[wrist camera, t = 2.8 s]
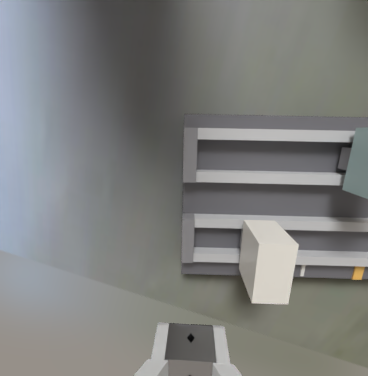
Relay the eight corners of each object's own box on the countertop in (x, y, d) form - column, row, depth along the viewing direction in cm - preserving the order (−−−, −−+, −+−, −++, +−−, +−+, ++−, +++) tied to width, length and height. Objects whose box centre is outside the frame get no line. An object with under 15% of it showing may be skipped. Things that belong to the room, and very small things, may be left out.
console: (182, 260, 21) (181, 282, 18) (184, 115, 18) (184, 112, 14) (380, 266, 21) (413, 289, 18) (425, 120, 17) (477, 117, 14)
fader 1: (235, 260, 18) (251, 303, 14) (240, 213, 17) (259, 243, 13) (262, 260, 18) (288, 304, 14) (269, 214, 17) (298, 244, 13)
